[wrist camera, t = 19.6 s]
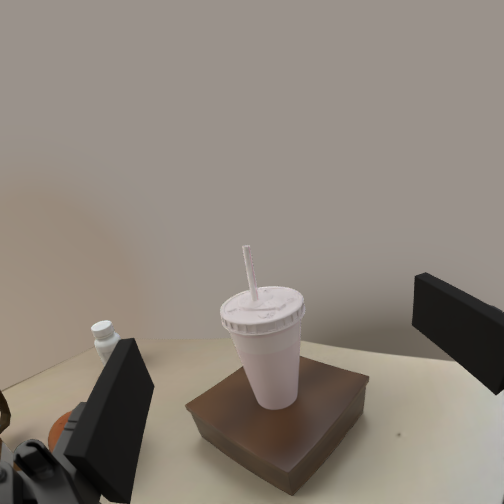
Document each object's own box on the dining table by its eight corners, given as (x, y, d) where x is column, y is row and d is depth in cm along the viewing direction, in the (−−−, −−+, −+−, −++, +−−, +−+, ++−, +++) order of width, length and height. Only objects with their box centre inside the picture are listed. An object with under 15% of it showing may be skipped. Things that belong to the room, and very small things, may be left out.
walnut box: (365, 410, 25) (369, 376, 24) (292, 498, 17) (288, 473, 15) (275, 377, 34) (270, 345, 32) (198, 436, 25) (184, 405, 24)
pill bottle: (136, 364, 40) (119, 321, 38) (116, 378, 36) (96, 334, 34) (120, 357, 42) (104, 316, 40) (101, 370, 39) (83, 328, 37)
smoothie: (271, 367, 28) (249, 234, 25) (325, 385, 24) (314, 235, 20) (227, 402, 24) (188, 257, 20) (283, 431, 19) (255, 265, 16)
